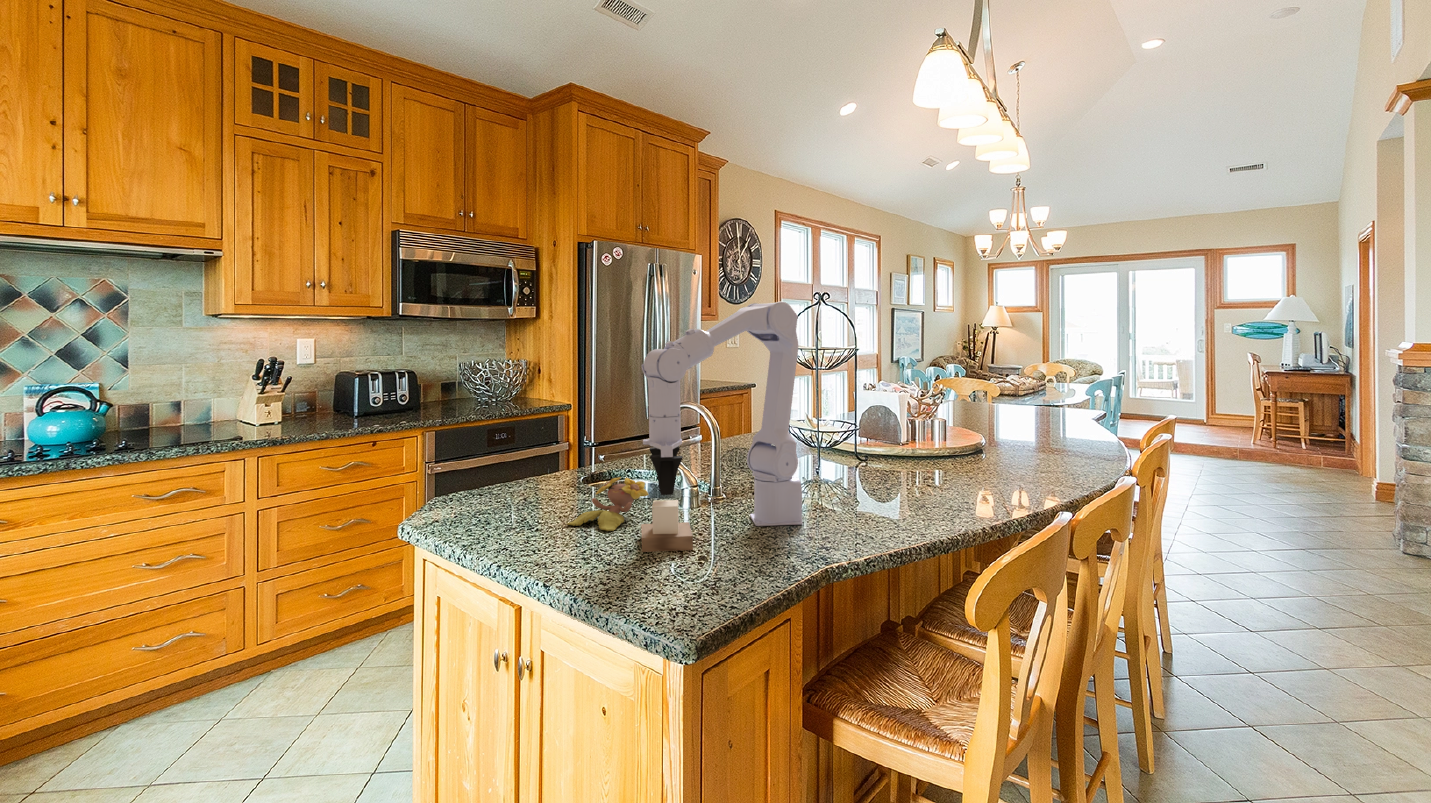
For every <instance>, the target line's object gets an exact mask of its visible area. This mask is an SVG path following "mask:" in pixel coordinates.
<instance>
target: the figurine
mask: <svg viewBox="0 0 1431 803" xmlns="http://www.w3.org/2000/svg"><path fill="white" fill-rule="evenodd" d="M621 479H622V476H619V477H614V478H611V479H610V480H609V481H607V482H606V483H605V484H603V485H602V486H601V487H600V488H598V490H597V491H596V493H595V495H599V494H601V493H602V492H604V491H606V490H607V497H608V500H609V501H610V502H611V503H612V504H611V505H605V504H603V503H601V501H599V500H598V499H597V498H596V497H593V498H591V503H592V504H593V505H594V507H596V508H598V509H599V510H597V509H596V510H591V511H585V512H582V513H581V514H579V515H578V516H577V517H576V518H575V519H574V520H573V521H570V522H566V523H565V524H566V525H568V526H573V527H575V526H576V527H578V526H582V525H583V524H584V523H585V524H586V523H587V522H588V521H591V522H592V521H594V520H596V519H597V525H598V529H599V530H601V531H607V532H611V531H612V532H615V531H614V530H617V528H618V527H619V526H620V525H621V524H623V523H624V521H625V517H624V515H622V514H620V513H627V512H628V511H630V510H631V508H632V507H633V506H632V505H633V503H634V502H635V501H636V500H637V499H639V498H641V497H647V496H649V492H648V490H646V489H645V485H646V482H644V481H641V480H637V481H636V480H633V479H631V478H628V477H625V478H624V481H623V483H616V482H618V481H620V480H621ZM614 483H615V484H614Z"/></svg>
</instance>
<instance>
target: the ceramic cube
mask: <svg viewBox="0 0 1431 803" xmlns="http://www.w3.org/2000/svg"><path fill="white" fill-rule="evenodd" d="M651 508H652V509H651V511H652V513H651V514H652V517H651V518H652V523H651V524H653V534H678V531H679V523H680V522H679V521H680V520H679V517H680V516H679V500H678V499H665V500H662V499H661V500H653V502H652V506H651Z"/></svg>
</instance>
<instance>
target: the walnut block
mask: <svg viewBox="0 0 1431 803" xmlns="http://www.w3.org/2000/svg"><path fill="white" fill-rule="evenodd" d="M640 526H641V552H642V553H649V552H650V553H651V552H652V553H653V552H669V551H670V552H671V551H675V552H676V551H693V550H694V536H693V532H692V529H691V525H690V522H689V521H685V522H679V531H678V534H653V524H652V523H641V524H640Z"/></svg>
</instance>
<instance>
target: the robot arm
mask: <svg viewBox="0 0 1431 803" xmlns="http://www.w3.org/2000/svg"><path fill="white" fill-rule="evenodd" d="M798 317H799V315H797V313H796V312H795V310H794V309H793V307H792V306H791V305H790V304H789V303H788V302H785V301H776V302H767V303H766V302H765V303H757V302H756V303H755V302H754V303H750V304H748V305H747V306H744V307H741V308H739V309H738V310H736V312H734V313H732V314H731V315H729V316H727V317H726V318H723V320H721V321H720V322H718V323H717V324H715V325H713V326H712V327H711V328H708V329H707V330H704V329H699V328H696V329H695V328H689V329H687V330H685V332H684V333H685V334H684V335H683V336H681V337H680V338H677V339H676V340H674V341H669V340H668V341H667V342H666V343H665V346H664V348H655V349H652V350H650V351H649V352H648V353H647V354H646V356H645V358H644V361H643V363H642V364H641V371H642V373H643V375H644V376H645V378H646V379H647V387H648V388H647V389H648V393H647V394H648V434H649V435H648V436H649V438H648V439H647V438H646V439H645V438H644V439H642V445H643V446H644V445H645V446H650V447H649V452H650V455H649V457H650V461H651V463H652V465H653V467H654V470H655V473H656V477H657V478H656V479H657V483H658V484H657V485H658V488H659V493H660V495H661V496H670V495H671V496H672V495H673V494H674V491H675V486H676V478H677V473H678V469H679V467H680V465H681V464H682V461H683V455H678V454H679V452H680V450H681V449H680V446H681V445H682V444H683V439H682V431H681V430H682V429H681V428H682V424H681V421H682V420H681V419H682V418H681V417H682V416H681V380H682V379H683V378H684V377H685V375H686V373H687V371H688V370H689V369H692V368H693V367H694V366H697V365H699V364H700V363H702V362H703V361H705V360H707V359H709V358H710V357H712V356H713V354H714V353H715V352H714V351H715V347H716V346H719V345H720V344H723V343H725V342H726V341H728V340H730V339H733V338H735V337H736V336H738V335H740V334H743V333H745V332H747V333H748V334H750V336H752V337H753V338H755V339H757V340H758V341H759V342H761V343H763V345H764V346H765V347H766V348H767V350H768V351H769V353H770V354H769V361H768V368H767V369H768V370H767V376H766V386H765V395H764V403H763V413H762V421H761V428H760V429H759V431H757V432H756V433H755V434H754V436H752V442H751V445H750V447H749V449H748V451H747V454H746V463H747V466H748V468H749V469H750V471H752V477H753V478H754V479H753V482H754V488H753V489H754V493H753V494H754V495H753V496H754V497H753V498H754V505H753V506H754V508H753V510H754V512H753V513H750V514H749V517H750V519H751V520H752V522H753V523H754V525H755V526H756V527H767V526H791V525H792V526H793V525H803V490H802V488H803V487H802V483H801V480H800V478H799V477H794V475H795V474H796V472H797V470H798V466H799V459H798V458H799V457H798V455H797V442H796V440H795V439H794V437H793V436H792V435H791V433H790V432H789V431H790V422H791V413H792V403H793V395H794V388H795V381H796V380H795V379H796V370H797V364H798V362H797V361H798V353H799V339H798V334H797V326H798V319H799V318H798Z"/></svg>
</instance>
